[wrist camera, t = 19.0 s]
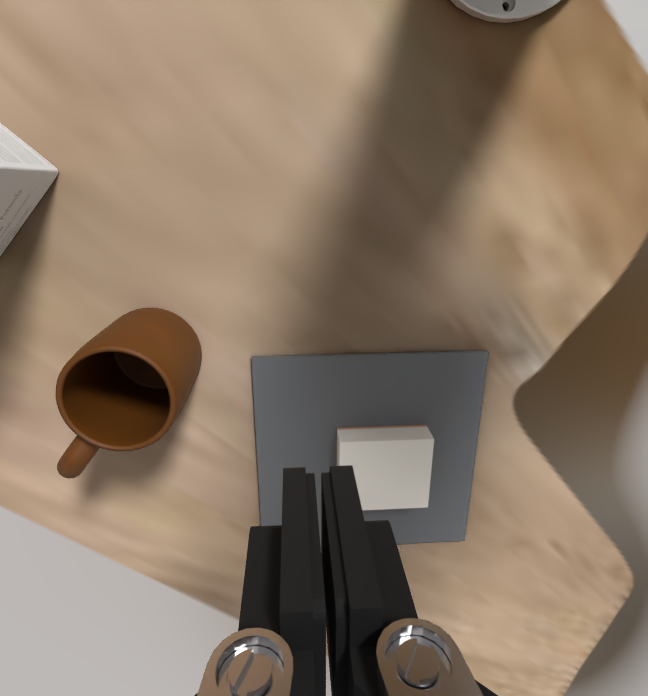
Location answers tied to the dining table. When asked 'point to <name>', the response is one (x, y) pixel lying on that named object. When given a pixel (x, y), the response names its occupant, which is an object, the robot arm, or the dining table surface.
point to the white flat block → (388, 464)
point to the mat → (371, 425)
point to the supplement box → (20, 183)
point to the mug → (126, 385)
